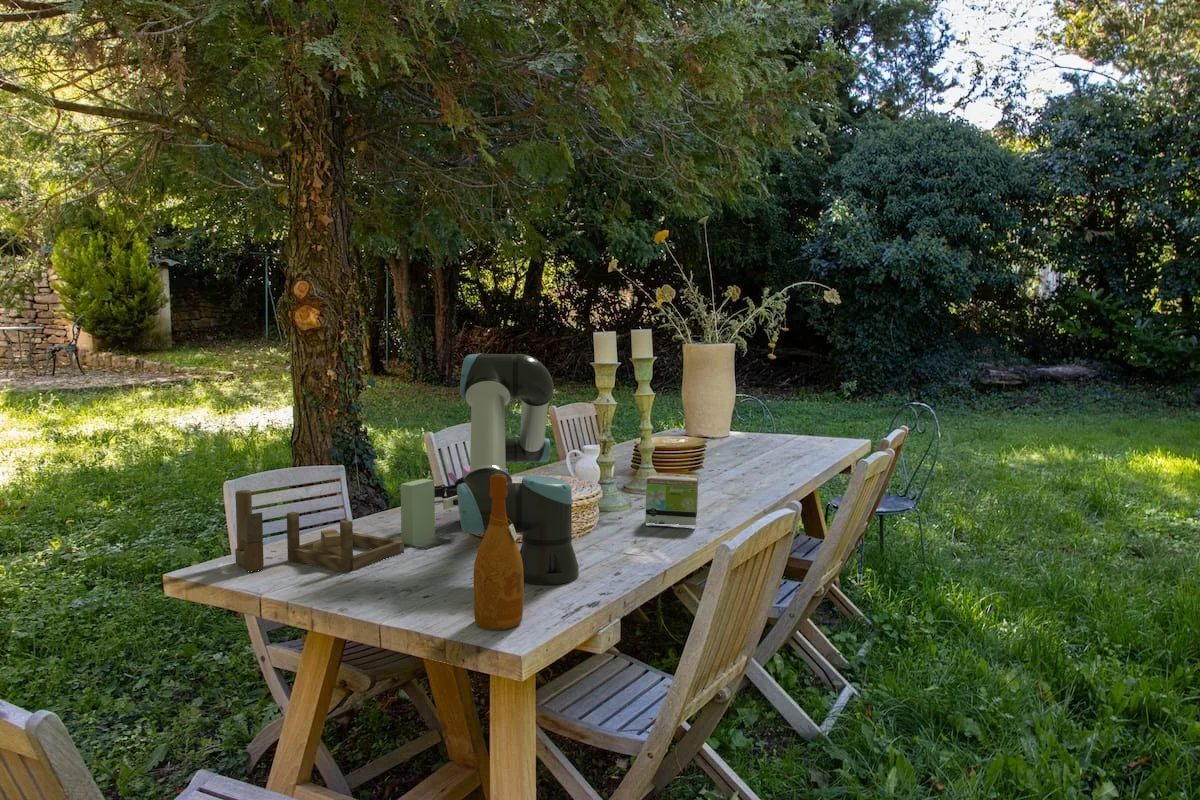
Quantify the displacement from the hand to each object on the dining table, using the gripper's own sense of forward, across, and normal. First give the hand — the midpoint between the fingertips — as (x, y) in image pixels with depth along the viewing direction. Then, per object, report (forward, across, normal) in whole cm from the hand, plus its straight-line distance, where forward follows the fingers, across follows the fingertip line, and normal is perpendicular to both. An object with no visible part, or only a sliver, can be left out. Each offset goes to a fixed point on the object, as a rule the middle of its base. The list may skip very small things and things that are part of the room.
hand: (424, 501), depth 224 cm
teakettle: (-51, +19, -11) cm, 56 cm away
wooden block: (+41, +20, -11) cm, 47 cm away
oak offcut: (+29, +6, -8) cm, 30 cm away
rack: (+23, +6, -10) cm, 26 cm away
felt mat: (+3, 0, -10) cm, 11 cm away
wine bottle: (+43, -54, -10) cm, 70 cm away
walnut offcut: (+29, +6, -6) cm, 30 cm away
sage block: (+3, 0, -10) cm, 10 cm away
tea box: (-49, -53, -11) cm, 73 cm away
